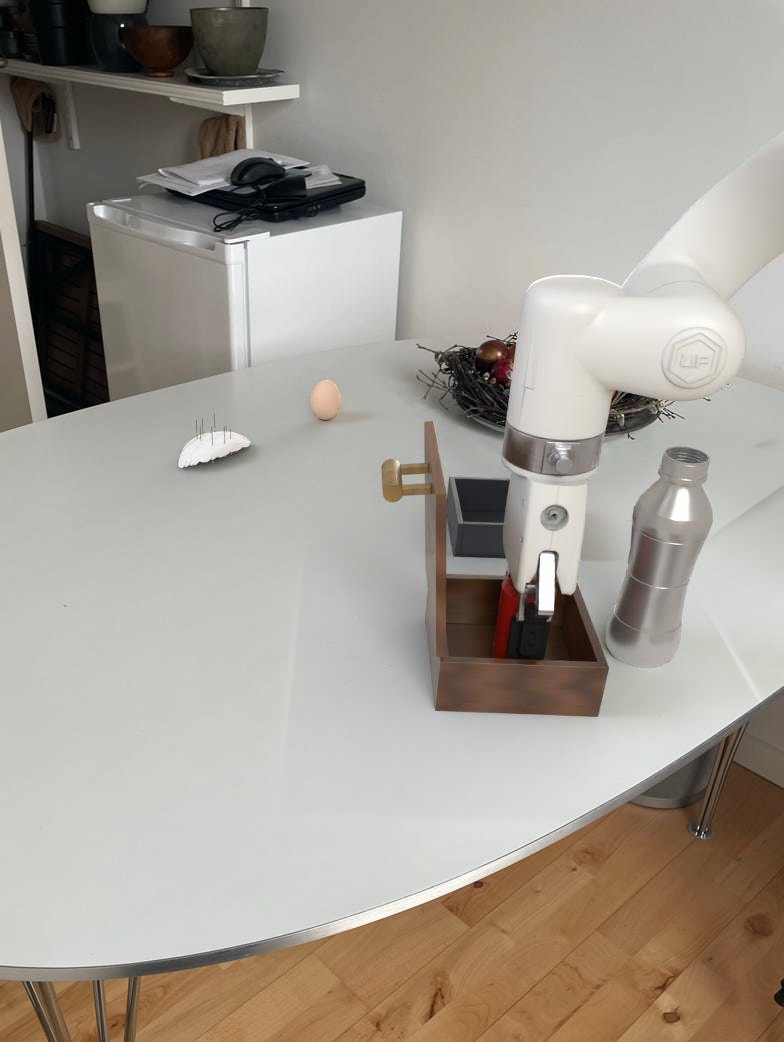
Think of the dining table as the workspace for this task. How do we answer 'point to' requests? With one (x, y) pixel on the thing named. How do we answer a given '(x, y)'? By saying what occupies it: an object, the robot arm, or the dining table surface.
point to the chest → (514, 684)
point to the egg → (325, 400)
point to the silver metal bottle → (661, 561)
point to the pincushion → (211, 446)
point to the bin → (477, 516)
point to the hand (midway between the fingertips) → (520, 638)
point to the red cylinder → (507, 616)
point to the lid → (427, 523)
